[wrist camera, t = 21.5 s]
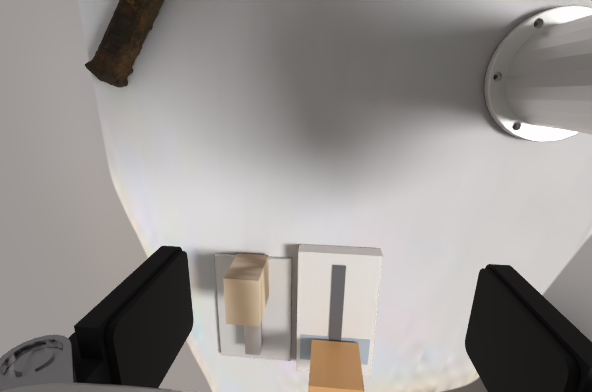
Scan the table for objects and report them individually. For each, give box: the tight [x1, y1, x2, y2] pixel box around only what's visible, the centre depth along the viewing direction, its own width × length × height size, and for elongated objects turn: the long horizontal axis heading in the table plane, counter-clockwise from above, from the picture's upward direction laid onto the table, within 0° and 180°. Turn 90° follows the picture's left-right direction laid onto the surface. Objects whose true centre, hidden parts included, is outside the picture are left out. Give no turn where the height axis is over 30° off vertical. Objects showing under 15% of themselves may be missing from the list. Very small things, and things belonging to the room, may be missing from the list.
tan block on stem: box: [223, 253, 269, 355], centre depth 41 cm, size 4×14×6 cm, turn 179°
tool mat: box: [214, 254, 292, 361], centre depth 44 cm, size 10×16×1 cm, turn 179°
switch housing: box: [296, 244, 383, 376], centre depth 42 cm, size 10×18×2 cm, turn 179°
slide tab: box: [309, 339, 364, 392], centre depth 39 cm, size 6×3×7 cm, turn 89°
